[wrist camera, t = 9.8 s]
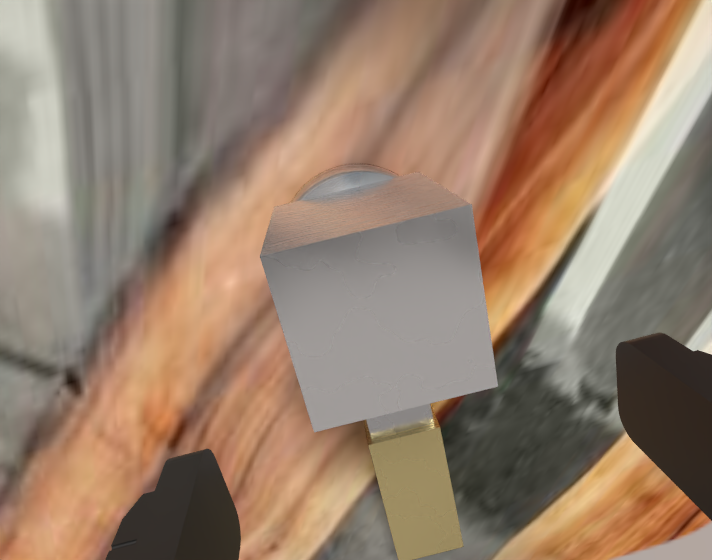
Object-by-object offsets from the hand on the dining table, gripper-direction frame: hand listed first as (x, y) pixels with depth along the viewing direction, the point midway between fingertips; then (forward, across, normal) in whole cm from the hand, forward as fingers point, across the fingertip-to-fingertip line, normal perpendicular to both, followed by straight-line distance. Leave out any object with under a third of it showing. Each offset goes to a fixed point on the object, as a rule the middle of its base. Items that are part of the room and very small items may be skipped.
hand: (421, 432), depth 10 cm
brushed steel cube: (+12, 0, 0) cm, 12 cm away
